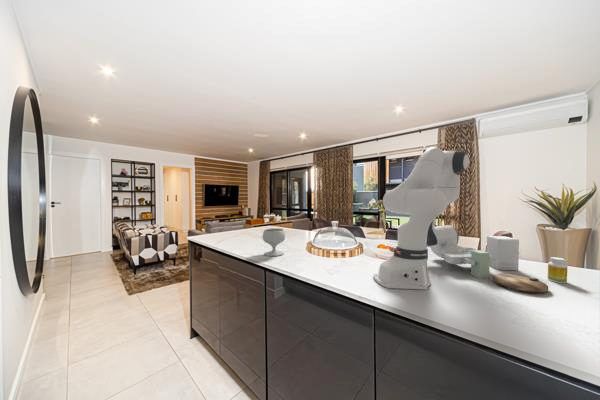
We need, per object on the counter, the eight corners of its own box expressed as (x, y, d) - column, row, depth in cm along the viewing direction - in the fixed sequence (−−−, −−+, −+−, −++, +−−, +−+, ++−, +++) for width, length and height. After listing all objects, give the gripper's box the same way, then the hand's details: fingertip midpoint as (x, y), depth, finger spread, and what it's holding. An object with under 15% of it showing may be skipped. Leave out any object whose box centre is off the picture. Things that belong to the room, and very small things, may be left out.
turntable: (521, 293, 80) (521, 288, 80) (481, 276, 96) (481, 272, 96) (561, 291, 82) (561, 286, 82) (516, 275, 98) (516, 271, 98)
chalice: (258, 254, 139) (257, 229, 138) (276, 250, 148) (276, 227, 148) (271, 258, 129) (271, 232, 128) (290, 254, 138) (289, 229, 138)
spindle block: (479, 278, 97) (480, 253, 97) (471, 274, 102) (471, 250, 101) (489, 277, 98) (489, 252, 97) (480, 274, 102) (480, 250, 102)
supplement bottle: (546, 277, 97) (547, 255, 97) (565, 280, 94) (565, 258, 94) (548, 281, 93) (549, 258, 93) (568, 284, 90) (569, 261, 90)
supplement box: (519, 271, 106) (520, 239, 105) (497, 269, 108) (498, 238, 107) (505, 265, 115) (506, 236, 114) (485, 264, 116) (486, 235, 116)
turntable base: (520, 293, 82) (520, 291, 82) (488, 280, 95) (488, 278, 95) (552, 292, 83) (552, 290, 83) (516, 278, 96) (516, 277, 96)
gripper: (437, 249, 111) (459, 256, 98) (476, 248, 113) (503, 255, 99) (437, 261, 112) (459, 271, 98) (476, 260, 113) (503, 269, 99)
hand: (481, 263), depth 99 cm, fingers closed on spindle block, 4 cm apart
